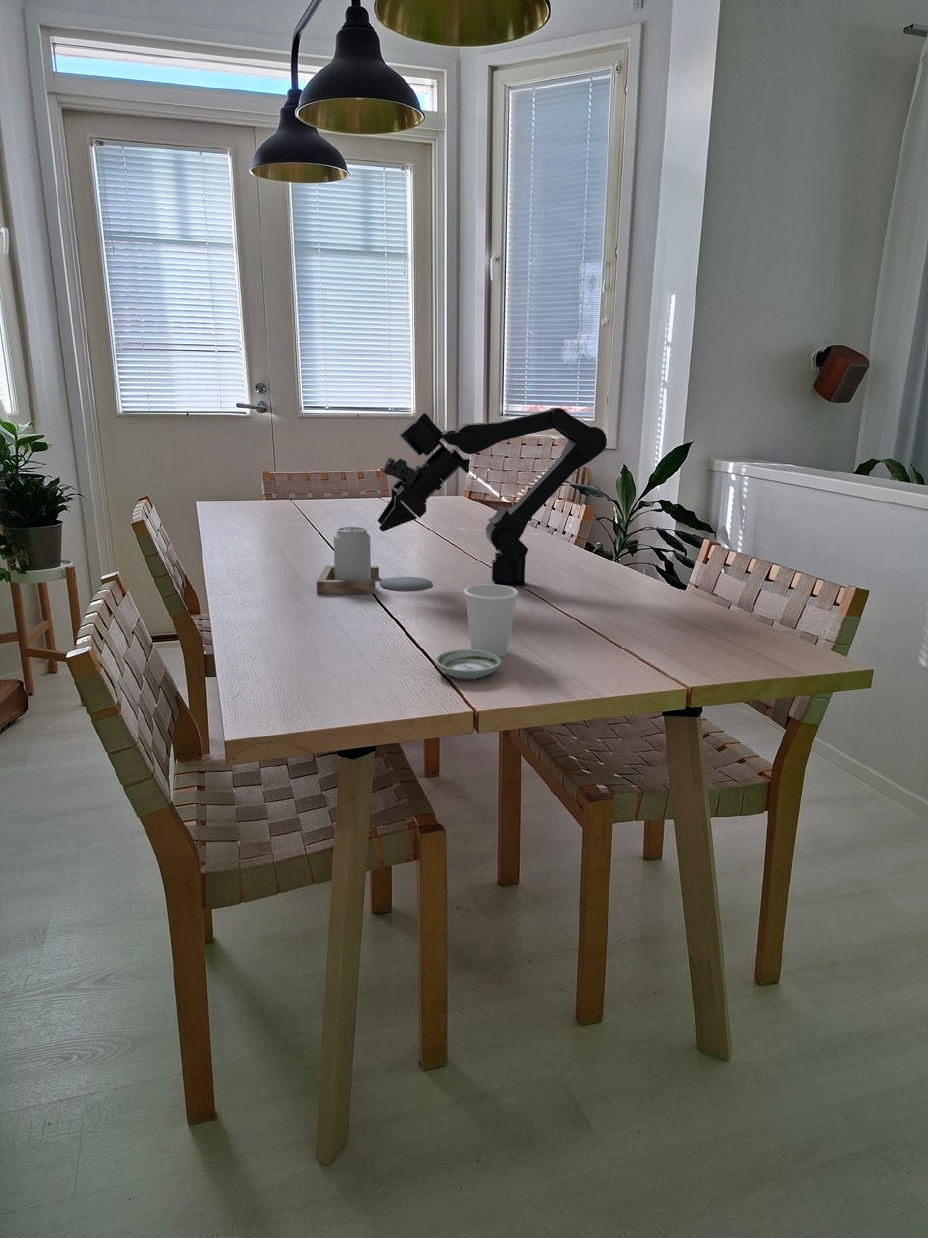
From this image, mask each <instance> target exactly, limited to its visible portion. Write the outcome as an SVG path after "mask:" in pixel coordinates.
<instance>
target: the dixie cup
mask: <svg viewBox="0 0 928 1238" xmlns="http://www.w3.org/2000/svg"><path fill="white" fill-rule="evenodd" d="M463 594H465V599H466V610H467V619H468V620H467V623H468V630H469V639H470V649H475V650H482V651H487V652H490V653H493V654H495V655H497V656H498V657H499V658H500V657H504V656H506V655H508V651H509V646H510V645H509V644H510V641H511V640H510V639H511V633H512V627H513V621H514V615H515V614H514V613H515V608H516V600H517V596H518V595H519V591H518V590H517V589H516V588H514V587H513V586H504V585H495V583H494V584H491V583H488V584H487V583H486V584H483V583H482V584H475V585H470V586H467V587H466V588H465V589H464V590H463Z"/></svg>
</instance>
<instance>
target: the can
mask: <svg viewBox="0 0 928 1238" xmlns="http://www.w3.org/2000/svg"><path fill="white" fill-rule="evenodd" d="M367 531H368V529H367V528H366V527H362V526H361V527H360V526H342V527H337V528H336V533H335V534H334V536H333V558H334V559H333V560H334V561H333V563H334V565H333V566H334V567H335V579H334V580H372V579H371V566H372V564H371V561H372V560H371V557H372V556H371V554H372V553H371V550H372V549H371V535H370V534H369V533H368V532H367Z"/></svg>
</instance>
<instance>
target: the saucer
mask: <svg viewBox="0 0 928 1238" xmlns="http://www.w3.org/2000/svg"><path fill="white" fill-rule="evenodd" d="M433 662H434V665H435V666H437V667H438V668H439V670H441V671H442V672H444V673H445V674H446V675H448V676H451V677H453V678H456V679H458V678H461V679H460V680H465V679H472V680H475V679H474V678H479V679H482V678H483V677H485V676H488V675H490V674H492V673H494V672H495V670H497V669H498V668H499V667H500V666H501V664H502V659H501V658H500V657H498V656H497V655H495V654H493V653H490V652H487V651H482V650H475V649H471V648H463V649H462V648H460V649H452V650H447V651H443V652H441V653H439V654H437V655H436V656H435V657H434V661H433Z"/></svg>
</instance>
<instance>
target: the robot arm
mask: <svg viewBox="0 0 928 1238" xmlns="http://www.w3.org/2000/svg"><path fill="white" fill-rule="evenodd" d="M552 429H554V430H555V431H557V432H558V433H559V434H561V436H563V437H564V438H565V439H568V440H567V442H566V443H565V446H564V447H563V450H562V452H561V454H560V455H559V457H558V458H557V459H556V460H555V461H554V462H553V464H552V465H551V466H550V467H549V468H548V469H547V470H545V472H544V473H543V474H542V476H540V478H539V479H538V480H537V481H536V482H534V484H533V485H532V486H531V487H530V488H529V489H528V491H526V493H525V494H524V495H523V496H522V497H521V498H520V499H519V500H518V501H517V502H516V503H515V504H514V505H513V506H512V507H510V508H508V509H507V508H505V507H503V506H500V507H499V508H498V510H497V511H496V512H495V514H494V515H493V516H492V517H490V518H488V519H487V521H488V522H489V523H488V524H487V525H486V528H485V534H486V536H485V537H486V538H487V540H488V541H489V543H491V545H492V546H493V547H494V549H495V551H496V552H495V553H494V559H492V560H491V581H492V582H493V583H494V584H495V585H504V586H509V587H513V586H514V587H520V586H521V587H525V586H527V583H526V581H525V579H526V560H527V559H526V556H527V554H528V552H529V548H528V547H527V546H526V545H525V544H524V543H523V542H522V541H521V540H520V539H521V537H522V535H523V534H524V533H525V530H526V528H527V526H528V523H529V521H530V520H531V519H532V517H534V515H535V514H536V513H537V512H538V511H539V510H540V509H541V508H542V507H543V506H544V505H545V504H546V502H548V500H549V499H550V498H551V497H552V496H554V494H555V493H556V492H557V491H558V490H559V489H560V487H562V485H563V484H564V483H565V482H566V481H567V480H568V479H569V478H570V477H571V476H572V475H573V474H574V473H575V471H577V470H578V469H579V468H581V467H583V466H585V465H587V464H589V463H590V462H592V460H593V461H594V459H595V458H597V457H598V456H599V455H600V454H602V453H603V452H604V451H605V449H606V448H607V445H608V442H607V440H608V438H607V435H606V433H605V431H604V430H602V429H601V428H600V427H597V426H591V425H587V424H585V423H584V422H583V421H581V420H579V419H578V418H576V417H574V416H572V415H571V414H570V413H568V412H566V410H565V409H563V408H561V407H551V408H549V409H545V410H543V411H542V410H541V411H538V412H534V413H530V414H526V415H521V416H517V417H513V418H509V419H506V420H505V419H504V420H501V421H497V422H475V423H474V422H472V423H463V424H460V425H458V426H456V428H455V430H454V429H453V430H444V431H441V430H440V428H439V427H437V425H436V424H435V423H434V422H433V421H432V419H431V418H430V417H429V415H428V414H427V413H426V412H422V413H421V414H420V415H418V417H417V418H415V420H413V421H412V422H409V424H408V425H407V426H406V427H404V429H403V430H402V431H401V432H400V433H399V437H400V438H401V439H402V440H403V441H404V442H405V443H406V444H407V445H408V446H409V448H411V449H412V450H413V452H414V453H415V454H416V455H418V457H419V456H421V455H422V454H423V455H424V456H425V457H428V456H429V455H430V454H431V453H432V452H433V453H432V455H430V456H429V457H428V458H427V459H426V460H425V461H424V462H423V463H422V464H418V465H416V466H415V467H414V468H413V467H411V466H410V465H408V464H407V460H405V459H402V458H401V457H399V458H397V459H395V458H394V457H391V456H388V458H387V459H386V462H385V464H384V467H383V469H382V473H383V474H386V475H387V476H392V477H394V478H396V479H397V480H396V481H395V482H394V483H393V484H392V487H391V489H390V491H391V493H390V494H391V498H390V500H389V502H388V504H387V505H386V507H385V508H384V510H383V511H382V513H381V514H380V516H379V517H378V519H377V522H378V523H379V524H380V526H379V527H378V528H379V530H380V531H381V532H385V531H388V530H390V529H393V528H395V527H398V526H401V525H404V524H407V523H409V522H411V521H415V520H417V519H421V518H422V516H423V515H425V514H426V513H427V503H428V499H429V498H430V497H431V496H432V495H433V494H434V493H435V492H437V491H439V490H441V489H442V485H443V484H445V483H446V482H447V481H448V479H450V478H451V476H452V475H454V474H455V473H456V472H457V471H458V470H459V469H460V468H461V470H462V471H463V472H465V474H469V473H470V463H471V460H470V459H469V458H464V457H463V456H462V455H461V454H460V453H459V452H458V451H457V450H459V451H460V452H462V453H463V454H467V455H475V454H477V453H479V452H481V451H484V450H487V449H489V448H490V447H493V446H494V445H496V444H498V443H501V442H503V441H506V440H510V439H514V438H515V439H516V438H518V437H519V438H520V437H524V436H527V435H532V434H537V433H540V432H545V431H549V430H552ZM441 440H442V441H443V442H445V443H446V444H448V445H452V446H455V447H456V448H455V449H454V448H453V449H451V450H449V449H448V448H447V447H446V446H445V445H444V444H443V443H442V442H441ZM436 448H437V449H436ZM435 449H436V450H435ZM456 449H457V450H456ZM434 450H435V451H434Z"/></svg>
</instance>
